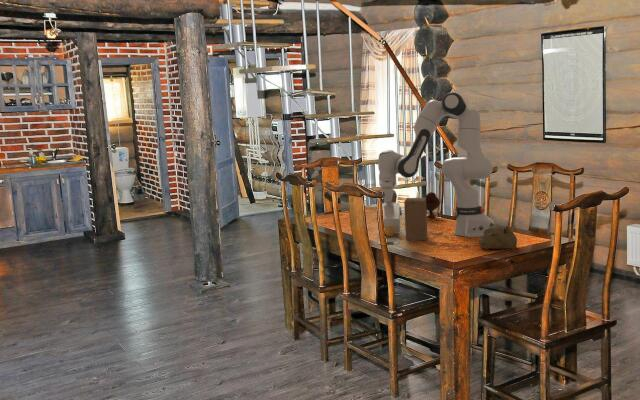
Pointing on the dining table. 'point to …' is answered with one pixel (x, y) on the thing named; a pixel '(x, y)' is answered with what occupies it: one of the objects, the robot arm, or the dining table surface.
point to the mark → (393, 240)
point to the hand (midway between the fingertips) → (389, 208)
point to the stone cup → (393, 199)
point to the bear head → (498, 238)
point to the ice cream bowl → (431, 203)
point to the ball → (389, 231)
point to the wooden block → (415, 218)
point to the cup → (392, 216)
